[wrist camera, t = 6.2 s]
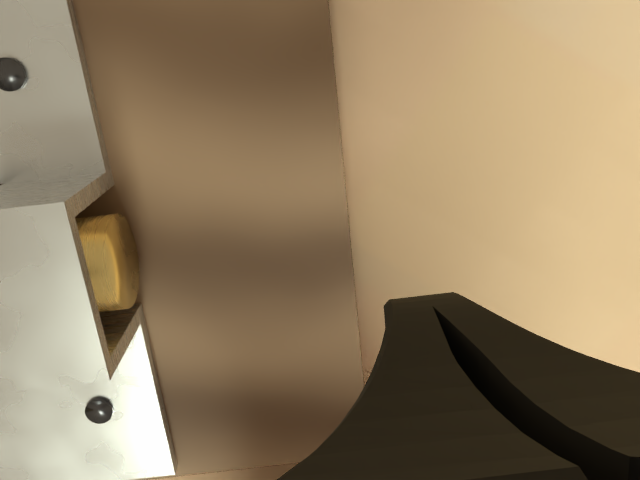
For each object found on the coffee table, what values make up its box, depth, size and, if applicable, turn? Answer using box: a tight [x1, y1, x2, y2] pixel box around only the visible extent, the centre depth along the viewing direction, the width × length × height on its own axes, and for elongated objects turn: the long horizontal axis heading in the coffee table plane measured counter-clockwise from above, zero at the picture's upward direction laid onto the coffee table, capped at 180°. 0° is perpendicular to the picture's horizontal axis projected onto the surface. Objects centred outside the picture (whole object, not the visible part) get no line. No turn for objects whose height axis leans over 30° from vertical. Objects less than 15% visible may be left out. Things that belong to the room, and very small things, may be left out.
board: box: [0, 0, 364, 480], centre depth 19 cm, size 18×18×1 cm
